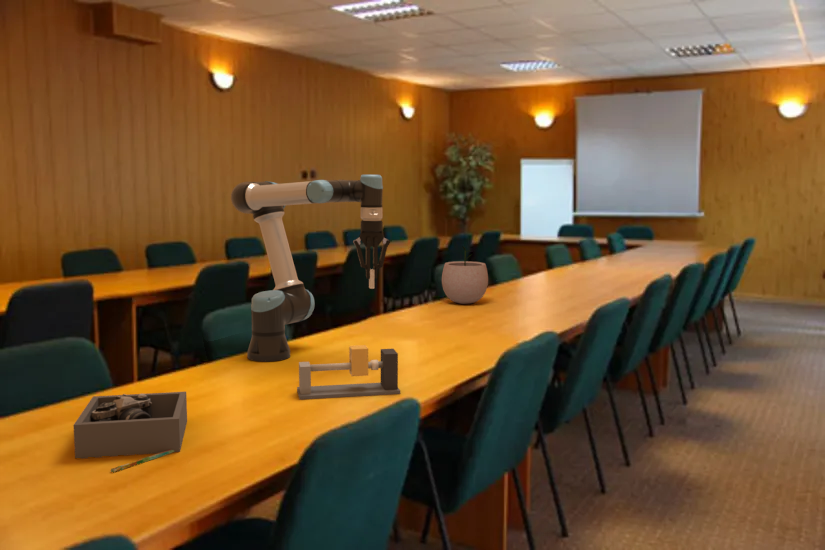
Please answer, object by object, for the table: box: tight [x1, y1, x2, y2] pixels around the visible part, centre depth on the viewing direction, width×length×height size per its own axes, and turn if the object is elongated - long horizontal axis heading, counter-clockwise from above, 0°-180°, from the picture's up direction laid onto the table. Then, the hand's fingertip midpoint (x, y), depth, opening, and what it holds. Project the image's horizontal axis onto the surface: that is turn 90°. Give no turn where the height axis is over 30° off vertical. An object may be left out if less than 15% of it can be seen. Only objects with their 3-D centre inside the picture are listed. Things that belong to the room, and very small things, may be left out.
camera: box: [91, 393, 152, 422], centre depth 186 cm, size 16×10×10 cm, turn 143°
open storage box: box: [72, 391, 188, 459], centre depth 185 cm, size 23×23×8 cm
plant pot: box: [441, 245, 489, 305], centre depth 387 cm, size 24×24×30 cm
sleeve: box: [348, 344, 369, 377], centre depth 226 cm, size 5×5×8 cm
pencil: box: [110, 450, 176, 474], centre depth 171 cm, size 1×1×18 cm
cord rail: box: [296, 348, 401, 400], centre depth 226 cm, size 30×10×12 cm, turn 103°
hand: (371, 287), depth 260 cm, fingers closed
